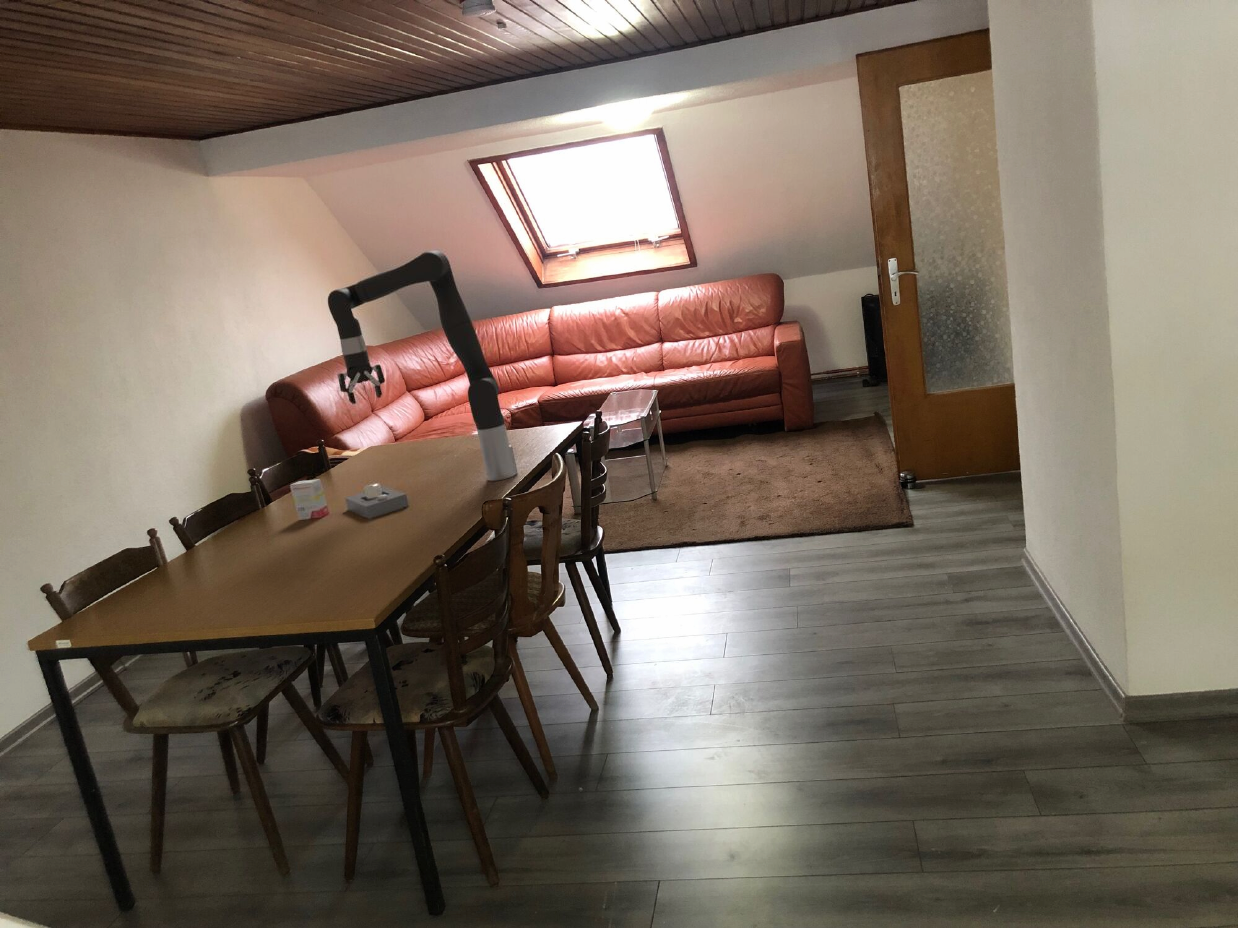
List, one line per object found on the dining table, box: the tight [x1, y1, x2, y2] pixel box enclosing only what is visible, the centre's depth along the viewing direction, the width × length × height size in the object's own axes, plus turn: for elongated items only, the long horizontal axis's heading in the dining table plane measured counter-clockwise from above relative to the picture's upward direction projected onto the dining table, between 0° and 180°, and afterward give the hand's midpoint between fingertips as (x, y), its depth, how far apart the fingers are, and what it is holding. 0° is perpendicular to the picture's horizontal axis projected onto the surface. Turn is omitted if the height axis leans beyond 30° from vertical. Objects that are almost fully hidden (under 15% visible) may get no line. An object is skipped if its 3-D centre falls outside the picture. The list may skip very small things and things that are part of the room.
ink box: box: [289, 478, 330, 521], centre depth 303 cm, size 9×5×12 cm, turn 74°
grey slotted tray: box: [344, 485, 410, 520], centre depth 300 cm, size 13×20×5 cm, turn 35°
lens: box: [363, 482, 382, 501], centre depth 300 cm, size 5×5×8 cm
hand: (366, 400), depth 309 cm, fingers open, 8 cm apart
